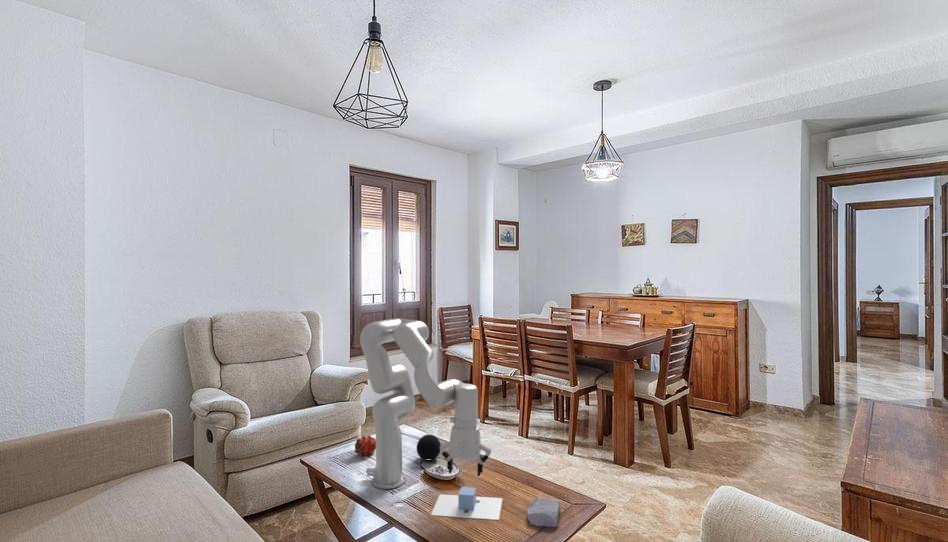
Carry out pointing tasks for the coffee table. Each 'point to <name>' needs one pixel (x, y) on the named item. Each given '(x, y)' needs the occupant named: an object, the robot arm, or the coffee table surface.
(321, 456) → the coffee table surface
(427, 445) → the decorative ball
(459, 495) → the blue cube
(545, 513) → the stone block
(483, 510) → the letter sheet
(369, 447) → the dragon fruit
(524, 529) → the coffee table surface
